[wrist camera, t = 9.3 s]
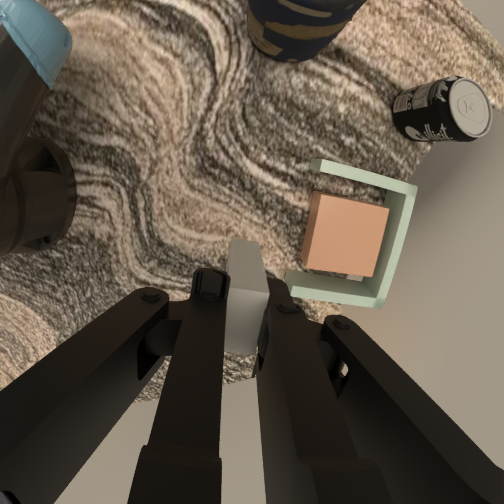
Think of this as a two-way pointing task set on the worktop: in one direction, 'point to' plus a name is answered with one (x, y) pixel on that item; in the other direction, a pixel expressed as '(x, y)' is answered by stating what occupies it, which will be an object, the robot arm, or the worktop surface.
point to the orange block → (343, 234)
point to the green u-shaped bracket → (397, 223)
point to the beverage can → (444, 111)
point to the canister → (297, 25)
